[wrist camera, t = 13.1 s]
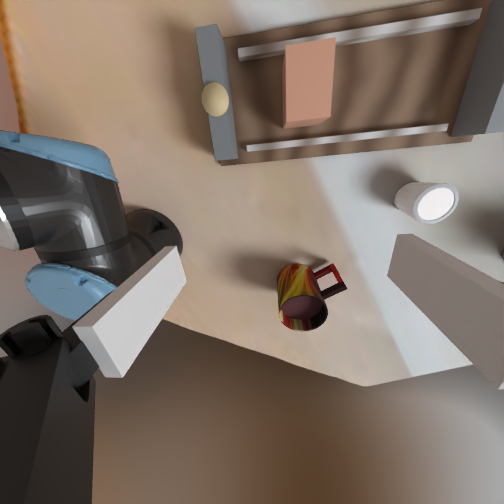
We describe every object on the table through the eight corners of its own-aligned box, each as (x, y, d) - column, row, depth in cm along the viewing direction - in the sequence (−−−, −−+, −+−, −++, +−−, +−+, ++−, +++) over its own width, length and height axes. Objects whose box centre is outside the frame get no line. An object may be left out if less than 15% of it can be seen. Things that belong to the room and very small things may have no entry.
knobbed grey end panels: (220, 160, 38) (211, 161, 32) (204, 50, 31) (189, 25, 25) (473, 134, 33) (517, 130, 27) (520, -4, 26) (593, -50, 20)
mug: (334, 262, 47) (353, 293, 36) (300, 300, 53) (308, 337, 42) (300, 243, 46) (310, 270, 35) (270, 285, 51) (270, 319, 41)
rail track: (222, 165, 40) (219, 166, 37) (205, 45, 32) (200, 36, 30) (465, 141, 34) (479, 140, 32) (516, -9, 27) (538, -24, 24)
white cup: (390, 185, 39) (413, 191, 32) (429, 173, 37) (462, 177, 31) (391, 217, 41) (413, 228, 35) (428, 208, 40) (457, 217, 34)
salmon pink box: (283, 129, 35) (286, 121, 28) (282, 70, 31) (285, 45, 24) (317, 124, 34) (330, 116, 27) (320, 64, 31) (335, 37, 24)
